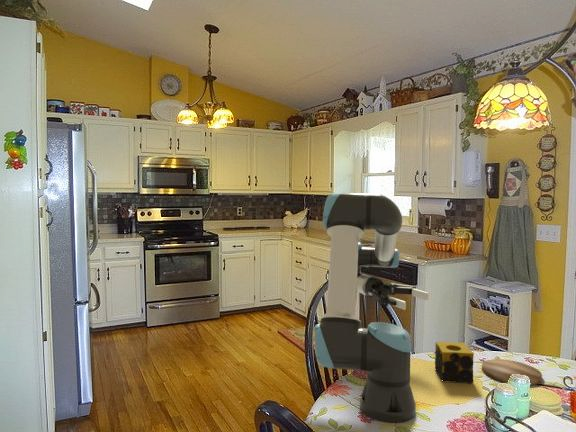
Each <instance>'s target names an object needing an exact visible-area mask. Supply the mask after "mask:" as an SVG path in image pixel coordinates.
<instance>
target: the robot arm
mask: <svg viewBox="0 0 576 432" xmlns="http://www.w3.org/2000/svg"><path fill="white" fill-rule="evenodd" d="M322 213H323V214H322V215H323V216H322V227H323V228H324V229H326V233H327V235H328V236H329V237H330V240H331V241H330V250H329V251H330V253H329V264H328V265H329V266H328V267H329V269H328V284H327V285H328V286H327V296H326V297H327V298H326V313H325V314H324V315H322V317H320V323H317V324H315V325H314V336H313V337H314V348H315V349H314V351H315V356H316V360H317V363H318V365H319V366H321V367H322V368H323V367H324V368H328V369H329V368H330V369H333V370H336V369H337V370H347V371H349V370H350V371H361V372H366V374H367V375H366V381H365V384H364V387H363V390H362V393H361V396H360V399H359V401H360V405H359V407H360V409H361V411H362V412H363V413H364V414H365V415H366V416H368V417H370V418H372V419H374V420H378V421H381V422H387V423H403V422H408V421H410V420H412V419H413V418H414V417H415V416H416V411H417V407H416V406H417V405H416V401H415V397H414V394H413V391H412V387H411V352H412V350H413V349H412V344H411V342H412V341H411V335H410V333H409V332H408V331H407V330H406V329H405V328H403V327H401V326H399V325H396V324H393V323H389V322H383V321H376V322H375V321H372V322H369V324H368V325H367V327H361V326H362V325H361V324H362V321H361V320H360V318H358V316H357V297H358V296H357V294H358V293H360V294H362V295H363V296H368V297H369V298H371V299H373V301H375V302H376V303H378V305H380V306H383V305H384V307H388V306H392V307H396V308H398V309H401V310H404V311H405V310H406V307H407V305H406V304H407V302H406V301H405V300H401V299H399V298H396V297H393V296H395V295H397V294H398V295H410V296H412V297H415V298H417V299H418V298H419V299H421V300H425V301H429V297H430V295H429V294H430V293H429V292H427V291H423V290H421V289H417V288H416V287H417V286H415V285H409V284H399V283H394V282H390V283H389V284H388V283H387V284H386V283H384V282H383V280H382V279H381V278H377V277H374V276H372V275H368V274H365V273H362V267H371V268H373V267H374V268H388V269H389V268H398V267H399V266H400V265H399V263H400V251H399V249H397V248H396V247H397V246H396V245H397V244H396V243H397V238H398V232H399V231H401V229H402V227H403V226H402V225H403V215H402V212H401V210H400V208H399V207H398V206H397V204H396V203H395V201H393V200H392V199H390V198H389V197H388V196H385V195H383V194H381V193H373V192H371V193H370V192H369V193H368V192H367V193H365V192H363V193H362V192H356V193H355V192H333V193H330V194H328V196H327V197H326V199H325V203H324V207H323V212H322ZM365 230H374V232H375V233H374V247H365V246H364V247H363V245H362V243H361V242H360V241H359V240H360V239H361V238H362V237H363V236H364V233H365ZM391 295H392V296H391Z"/></svg>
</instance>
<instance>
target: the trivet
mask: <svg viewBox="0 0 576 432" xmlns="http://www.w3.org/2000/svg"><path fill="white" fill-rule="evenodd" d="M481 372H482V373H483V374H484V375H486V376H487V377H489V378H490V379H493V380H495V381H498V382H501V383H504V382H508V380H509V378H510V376H511V375H512V374H520V375H526V376H528V377H529V379H530V383H531V386H537V385H539V384H541V383H542V381H543V374H542V372H541V371H540V370H539V369H537V368H535V367H534V366H531V365H529V364H526V363H523V362H520V361H517V360H510V359H500V358H497V359H496V358H495V359H493V358H492V359H487V360H484V361H483V362H482V364H481Z"/></svg>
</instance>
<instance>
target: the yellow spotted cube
mask: <svg viewBox="0 0 576 432" xmlns="http://www.w3.org/2000/svg"><path fill="white" fill-rule="evenodd" d="M434 350H435V356H434V357H435V358H434V370H435V369H436V370H435V372H436V371H437V372H436V373H438V374H439V376H438V377H440V378H441V379H440V378H439V379H440V381H441V380H443V381H442V382H444V381H456V382H455V383H461V382H462V383H465V382H467V383H466V384H473V383H474V356H475V355H474V354H475V353H474V352H473V351H472V350H471V349H470V347H469V346H468V345H467V343H466V342H449V341H447V342H445V341H435V349H434ZM438 374H437V375H438Z"/></svg>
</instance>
